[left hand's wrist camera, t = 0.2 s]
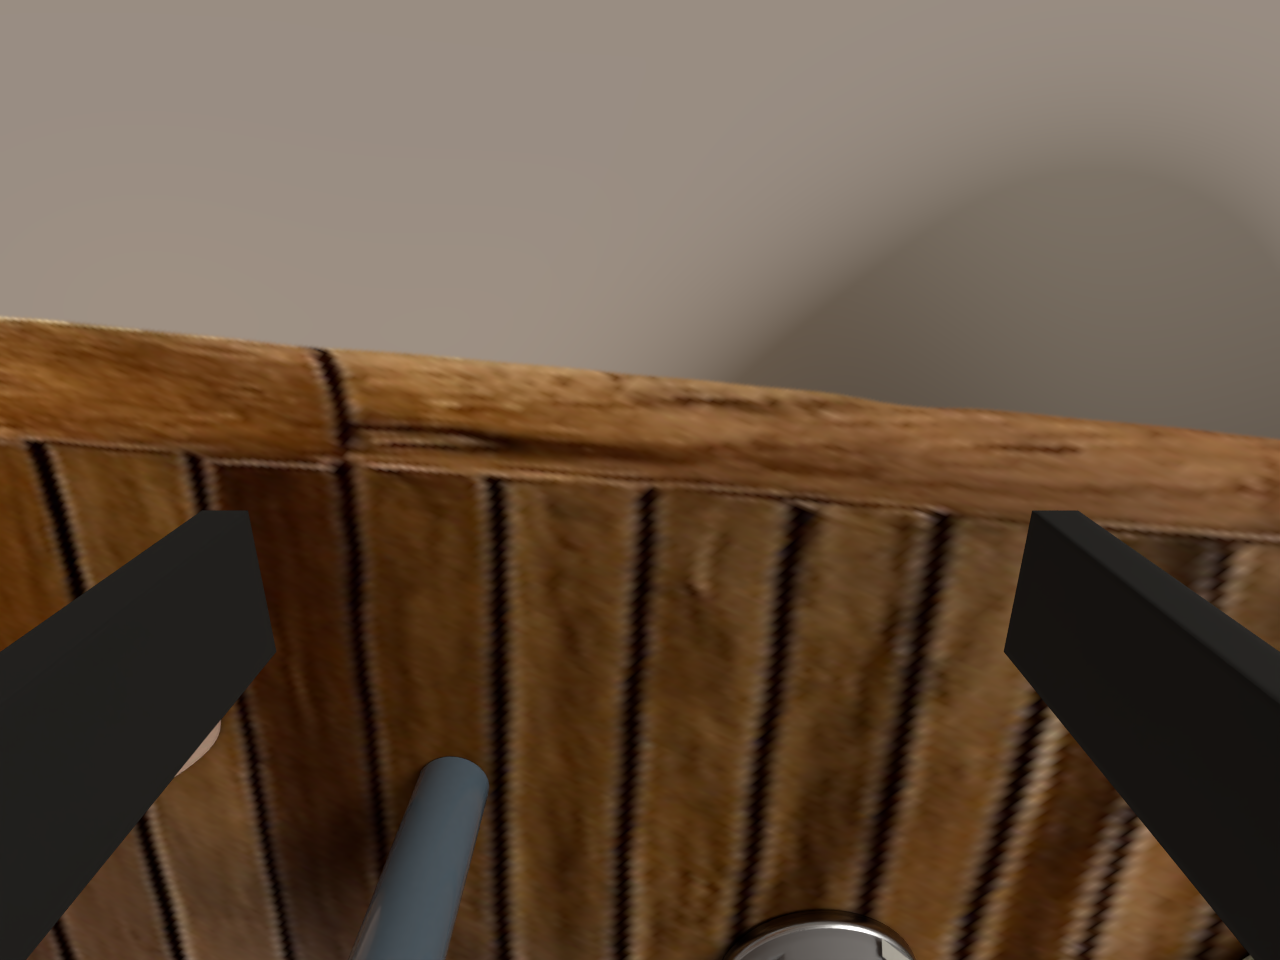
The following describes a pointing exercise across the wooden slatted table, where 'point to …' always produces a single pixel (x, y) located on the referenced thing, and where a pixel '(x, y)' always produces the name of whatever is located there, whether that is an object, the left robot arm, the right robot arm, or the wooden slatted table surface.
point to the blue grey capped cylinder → (426, 866)
